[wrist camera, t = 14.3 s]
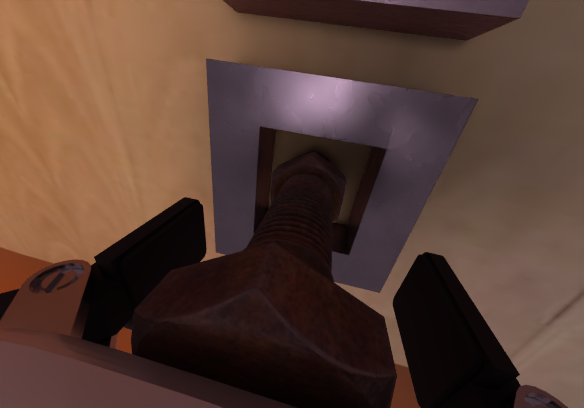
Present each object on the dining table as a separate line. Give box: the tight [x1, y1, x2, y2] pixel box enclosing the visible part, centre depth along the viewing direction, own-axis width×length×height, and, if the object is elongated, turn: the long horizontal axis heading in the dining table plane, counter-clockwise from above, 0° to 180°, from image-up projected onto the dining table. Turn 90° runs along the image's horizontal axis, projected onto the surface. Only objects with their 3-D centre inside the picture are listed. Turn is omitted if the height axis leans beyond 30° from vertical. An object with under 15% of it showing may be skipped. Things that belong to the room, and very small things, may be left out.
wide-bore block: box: [206, 59, 478, 293], centre depth 16 cm, size 14×14×4 cm
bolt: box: [131, 152, 397, 408], centre depth 11 cm, size 6×5×15 cm
